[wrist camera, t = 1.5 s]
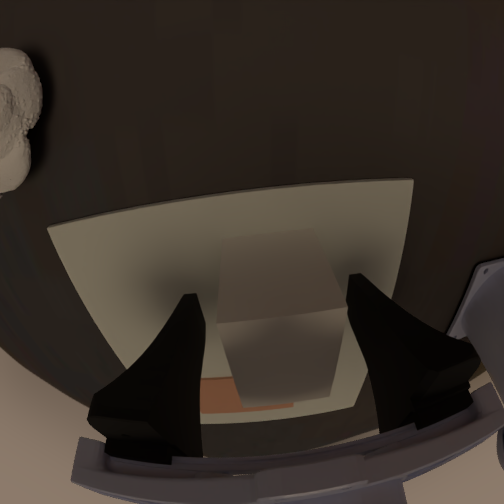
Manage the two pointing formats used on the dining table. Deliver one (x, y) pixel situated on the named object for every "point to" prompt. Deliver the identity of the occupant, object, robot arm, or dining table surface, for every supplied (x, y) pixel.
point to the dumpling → (17, 115)
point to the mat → (209, 258)
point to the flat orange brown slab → (226, 397)
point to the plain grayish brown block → (279, 317)
